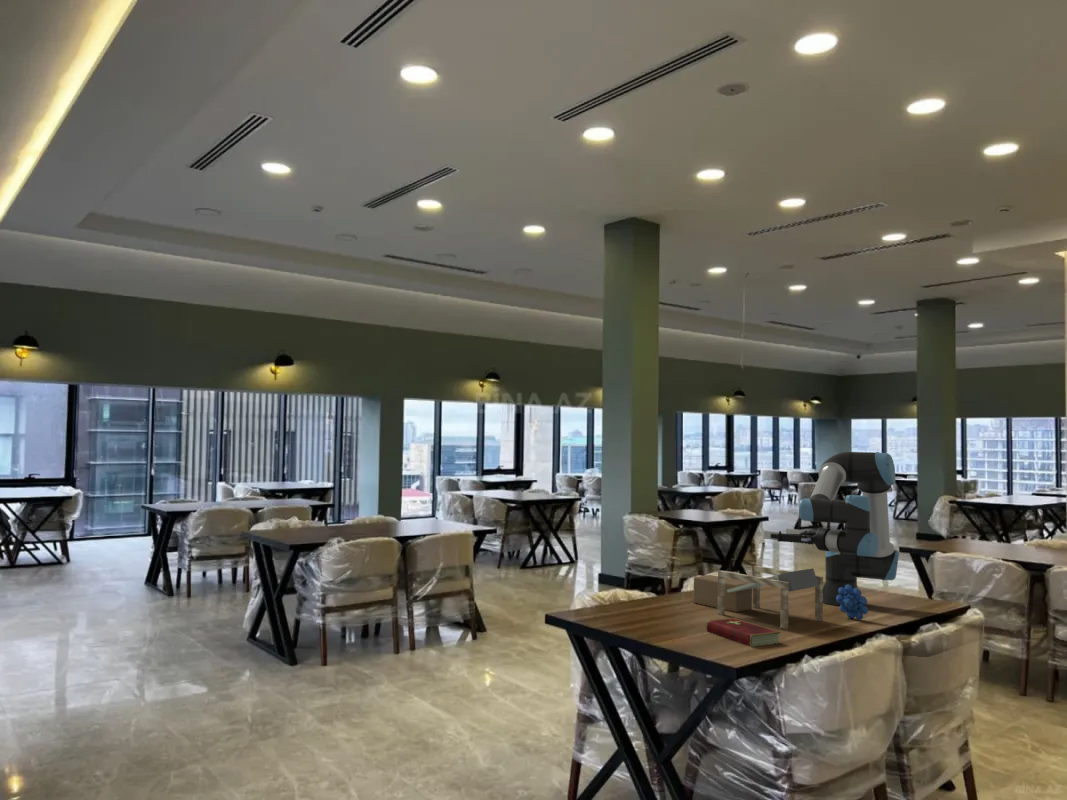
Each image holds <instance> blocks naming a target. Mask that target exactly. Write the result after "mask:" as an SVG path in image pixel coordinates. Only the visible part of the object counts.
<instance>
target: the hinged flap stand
mask: <svg viewBox="0 0 1067 800" xmlns="http://www.w3.org/2000/svg"><path fill="white" fill-rule="evenodd" d="M752 567H753V569H752V572H753V573H752V575H749V574H743V573H738V572H731V571H727V570H718V571H717V576H718V608H717V615H719V614H720V615H719V616H725V614H726V610H725V578H729V579H735V580H740V581H746V582H751V583H757V584H762V585H765V586H767V587H773V588H779V589H780V607H779V608H780V612H779V613H780V615H779V620H780V624H779V627H780V628H779V629H781V628H783V629H782V630H785V629H786V630H789V598H790V597H789V592H790V591H789V582H784V581H778V580H773V579H767V578H768V577H761V574H766V575H772V576H776V575H780V574H783V573H787V572H792V571H790V570H785V569H778V568H771V567H765V566H760V565H753V566H752ZM816 578H817V581H818V584H819V585H818V586H815V587H814V588H815V589H814V590H815V591H814V593H815V594H814V598H815V599H814V621H815V622H819V621H821V622H823V618H824V616H823V615H824V614H823V613H824V612H823V610H824V603H823V587H824V576H821V575H816ZM753 608H754V609H760V608H761V587H758V588H752V609H753Z"/></svg>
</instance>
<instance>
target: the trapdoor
mask: <svg viewBox="0 0 1067 800" xmlns="http://www.w3.org/2000/svg"><path fill="white" fill-rule="evenodd" d="M816 576H817V575H816V573H815V570H814V568H808V569H801V570H794V571H791V572H787V573H783V574H780V575H772V576H770V577H766V578H767V579H773V580H778V581H784V582H789V592H795V591H800V590H806V589H811V588H815V586H818V585H819V584H818V581H817V578H816ZM765 586H766V585H762V584H757V583H748V584H745V585H742V586H738V587H735V588H731V589H728V590H727V592H734V591H740V590H746V589H752V590H753V588H758V587H760V588H761V587H765Z"/></svg>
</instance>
